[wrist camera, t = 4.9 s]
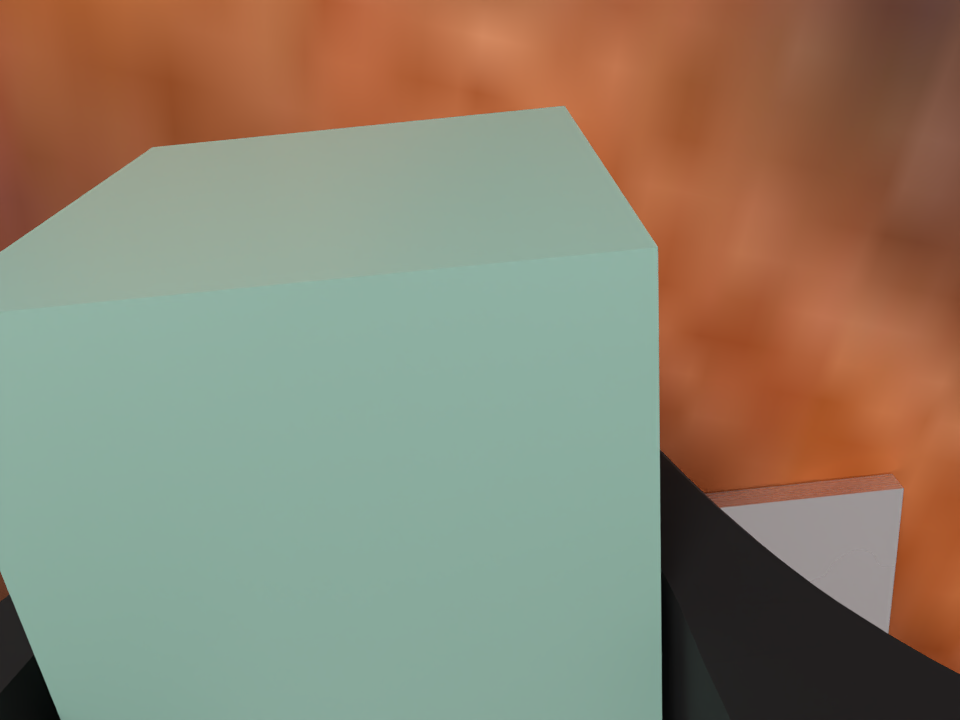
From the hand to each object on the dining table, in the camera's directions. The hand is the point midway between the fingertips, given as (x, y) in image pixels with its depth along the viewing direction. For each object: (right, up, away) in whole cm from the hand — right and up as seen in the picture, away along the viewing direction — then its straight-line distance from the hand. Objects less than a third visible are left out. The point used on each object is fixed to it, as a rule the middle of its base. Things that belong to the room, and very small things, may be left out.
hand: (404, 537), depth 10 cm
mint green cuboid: (0, +1, +1) cm, 2 cm away
